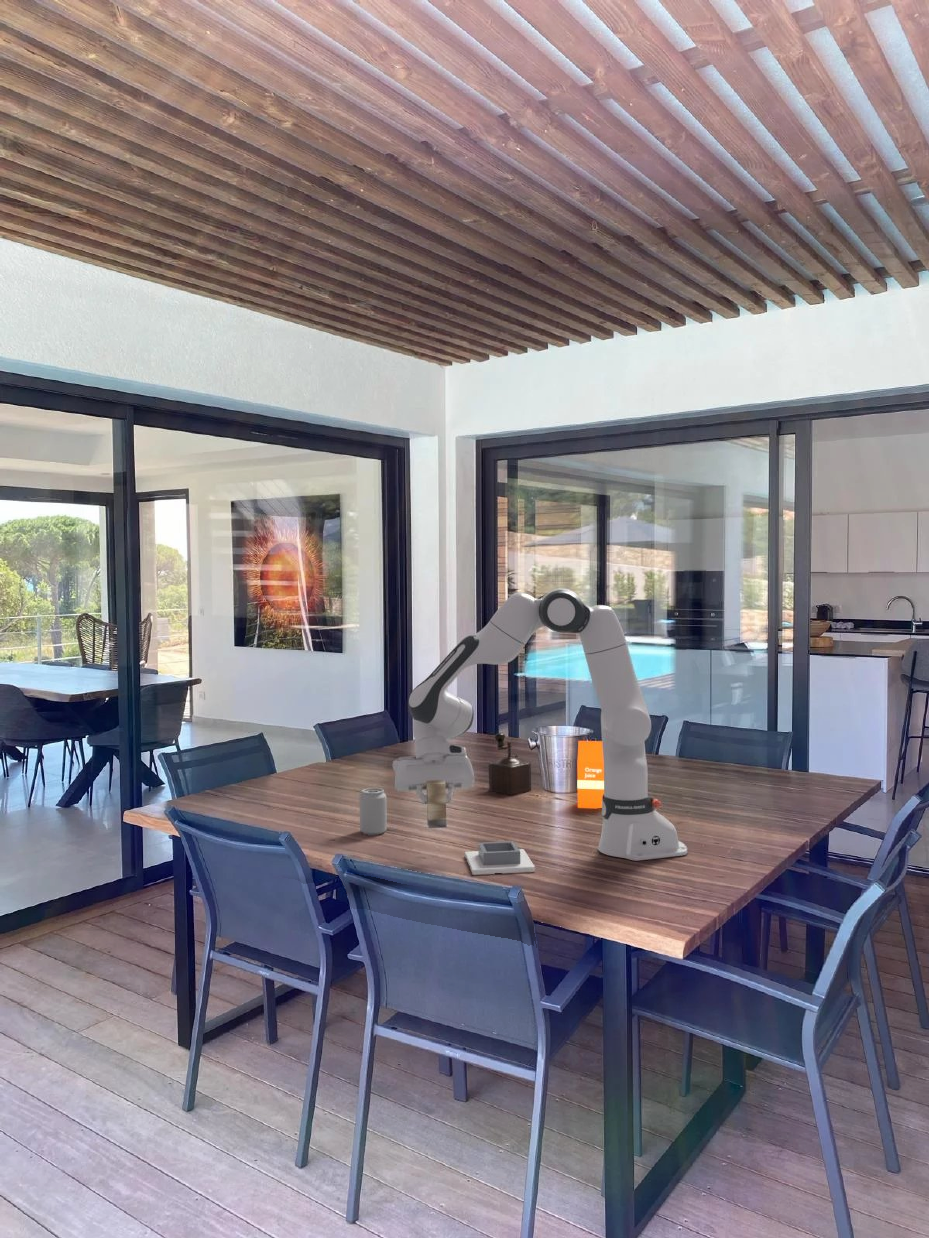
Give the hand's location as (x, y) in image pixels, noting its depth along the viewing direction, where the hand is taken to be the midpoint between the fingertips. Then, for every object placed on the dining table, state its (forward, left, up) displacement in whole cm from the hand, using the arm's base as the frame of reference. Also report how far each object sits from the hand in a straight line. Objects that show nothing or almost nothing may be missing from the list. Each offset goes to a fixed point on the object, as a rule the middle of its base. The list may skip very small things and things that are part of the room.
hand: (436, 802), depth 231 cm
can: (+15, -29, -15) cm, 36 cm away
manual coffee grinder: (-30, -75, -15) cm, 82 cm away
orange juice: (-53, -49, -15) cm, 73 cm away
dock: (-15, +5, -15) cm, 22 cm away
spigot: (0, -1, -6) cm, 6 cm away
